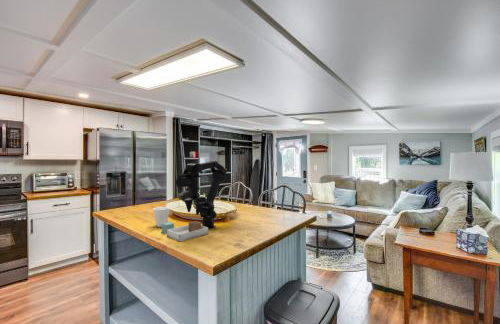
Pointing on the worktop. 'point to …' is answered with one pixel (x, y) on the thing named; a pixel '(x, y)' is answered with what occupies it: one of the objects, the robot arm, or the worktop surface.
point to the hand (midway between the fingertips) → (193, 213)
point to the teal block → (167, 227)
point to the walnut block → (194, 226)
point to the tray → (186, 233)
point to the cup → (161, 215)
